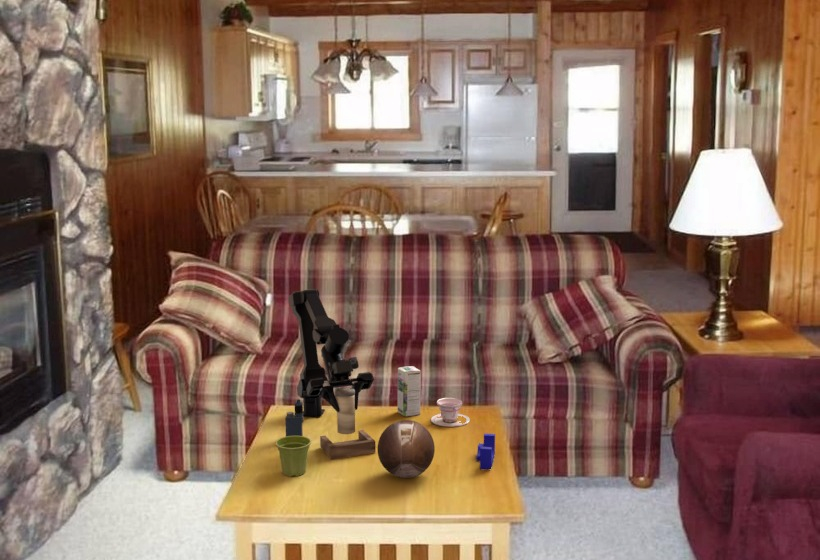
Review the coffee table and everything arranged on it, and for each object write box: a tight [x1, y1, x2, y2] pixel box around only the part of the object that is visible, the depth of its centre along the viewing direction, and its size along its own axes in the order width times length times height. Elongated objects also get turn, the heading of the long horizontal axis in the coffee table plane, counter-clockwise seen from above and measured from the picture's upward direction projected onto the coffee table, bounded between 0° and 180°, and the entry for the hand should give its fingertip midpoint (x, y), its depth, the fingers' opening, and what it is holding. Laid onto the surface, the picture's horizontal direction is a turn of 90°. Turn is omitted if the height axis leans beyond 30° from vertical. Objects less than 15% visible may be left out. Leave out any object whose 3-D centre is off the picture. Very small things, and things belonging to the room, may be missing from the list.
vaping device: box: [284, 398, 304, 437], centre depth 292 cm, size 3×5×12 cm, turn 89°
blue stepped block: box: [476, 432, 496, 471], centre depth 275 cm, size 12×4×6 cm, turn 171°
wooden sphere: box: [377, 419, 436, 479], centre depth 264 cm, size 15×15×15 cm
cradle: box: [319, 429, 377, 460], centre depth 284 cm, size 10×13×3 cm
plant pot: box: [275, 435, 312, 477], centre depth 268 cm, size 9×9×9 cm
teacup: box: [430, 397, 471, 428], centre depth 308 cm, size 12×12×6 cm
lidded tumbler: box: [336, 387, 356, 435], centre depth 283 cm, size 5×5×12 cm
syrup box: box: [397, 365, 422, 417], centre depth 314 cm, size 6×6×14 cm
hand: (347, 410), depth 282 cm, fingers closed on lidded tumbler, 5 cm apart
